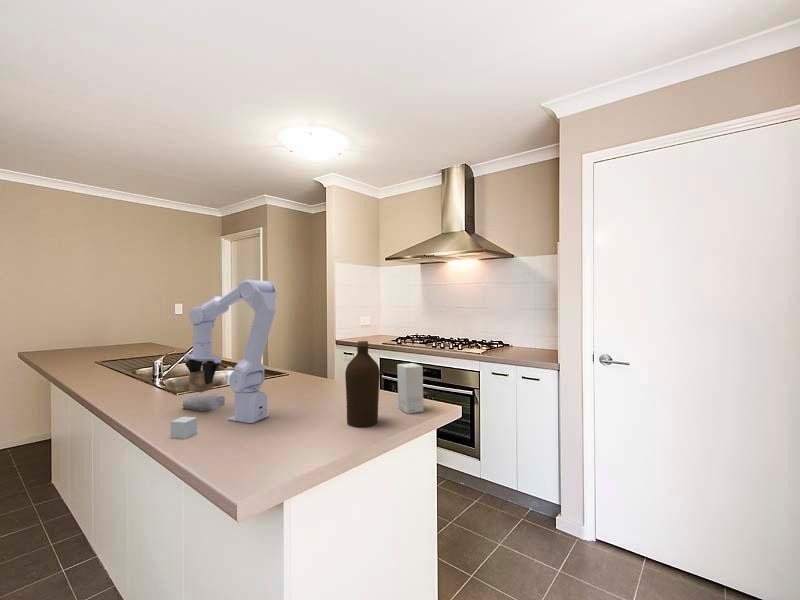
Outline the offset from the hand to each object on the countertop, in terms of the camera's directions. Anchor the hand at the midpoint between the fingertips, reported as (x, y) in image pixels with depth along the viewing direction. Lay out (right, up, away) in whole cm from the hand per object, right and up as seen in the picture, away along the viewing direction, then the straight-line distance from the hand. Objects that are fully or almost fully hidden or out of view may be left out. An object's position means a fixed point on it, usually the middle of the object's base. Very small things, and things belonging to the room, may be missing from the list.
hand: (202, 382), depth 130 cm
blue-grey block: (+7, -10, -23) cm, 26 cm away
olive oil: (+55, -10, -11) cm, 57 cm away
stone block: (-2, -10, +5) cm, 11 cm away
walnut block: (0, -2, -1) cm, 2 cm away
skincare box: (+70, -10, +2) cm, 71 cm away
